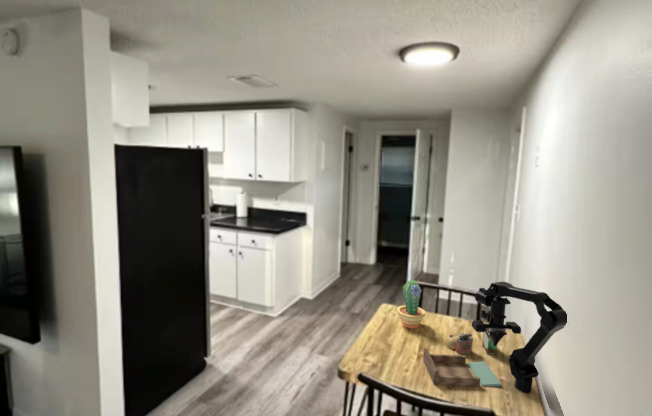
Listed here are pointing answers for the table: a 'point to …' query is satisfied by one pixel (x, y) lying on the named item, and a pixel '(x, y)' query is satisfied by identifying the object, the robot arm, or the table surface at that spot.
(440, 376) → the truck bed
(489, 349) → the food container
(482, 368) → the tailgate
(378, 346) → the table surface
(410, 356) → the table surface
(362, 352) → the table surface
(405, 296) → the potted cactus
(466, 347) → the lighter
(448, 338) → the onion
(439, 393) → the table surface
